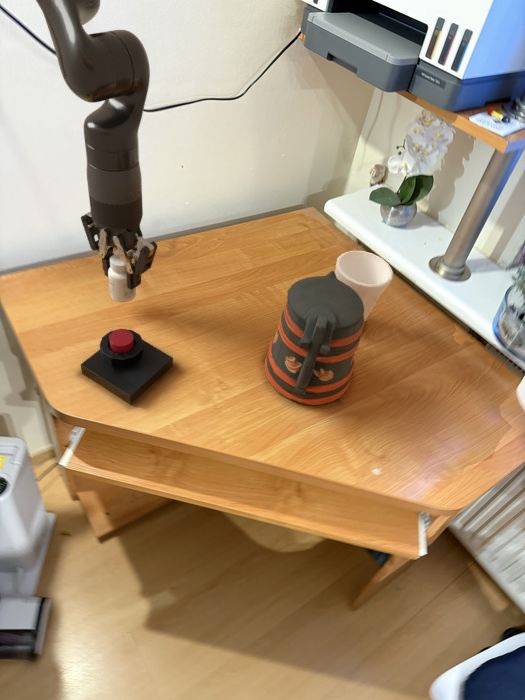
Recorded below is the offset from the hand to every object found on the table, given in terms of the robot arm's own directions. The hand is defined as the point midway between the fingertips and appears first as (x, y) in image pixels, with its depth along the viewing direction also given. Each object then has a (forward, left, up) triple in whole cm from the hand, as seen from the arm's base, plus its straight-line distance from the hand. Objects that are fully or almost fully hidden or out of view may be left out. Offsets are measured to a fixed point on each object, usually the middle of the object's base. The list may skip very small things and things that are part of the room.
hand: (122, 280), depth 87 cm
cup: (+33, +24, -7) cm, 41 cm away
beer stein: (+34, +6, -7) cm, 35 cm away
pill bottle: (0, 0, -4) cm, 4 cm away
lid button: (+8, -9, -3) cm, 13 cm away
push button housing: (+10, -10, -7) cm, 16 cm away
